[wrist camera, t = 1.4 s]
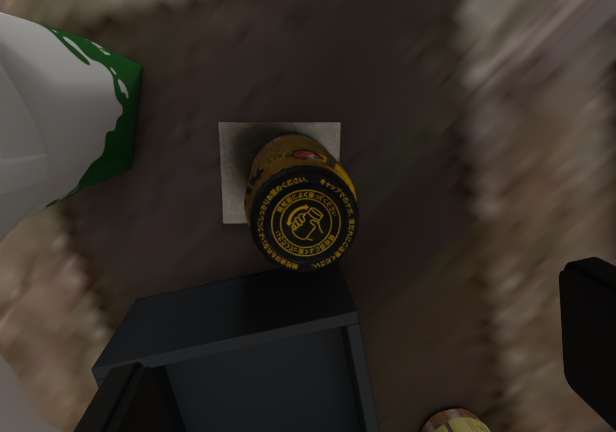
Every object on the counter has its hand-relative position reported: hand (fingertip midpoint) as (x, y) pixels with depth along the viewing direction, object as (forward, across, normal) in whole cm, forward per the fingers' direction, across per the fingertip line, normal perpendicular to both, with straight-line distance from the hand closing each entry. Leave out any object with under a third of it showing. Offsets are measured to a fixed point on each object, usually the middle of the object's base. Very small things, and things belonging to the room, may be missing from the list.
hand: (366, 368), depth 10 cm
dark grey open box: (+23, +6, +15) cm, 29 cm away
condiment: (+23, +1, -1) cm, 23 cm away
